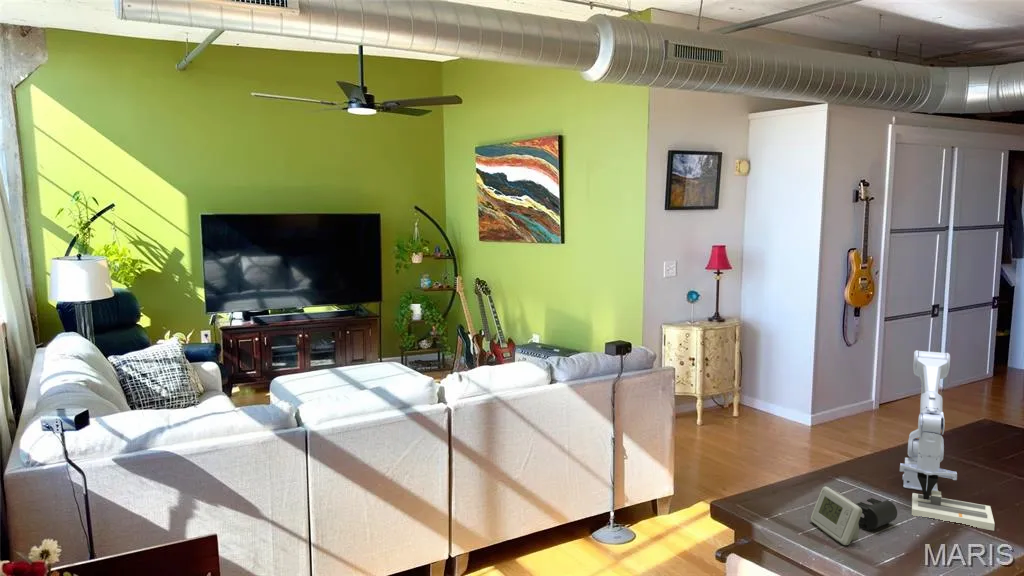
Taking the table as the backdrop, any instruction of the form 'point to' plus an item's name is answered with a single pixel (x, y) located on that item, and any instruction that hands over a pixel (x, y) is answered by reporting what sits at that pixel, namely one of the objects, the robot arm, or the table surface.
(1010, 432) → the table surface
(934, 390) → the robot arm
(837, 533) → the digital clock
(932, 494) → the fader tab
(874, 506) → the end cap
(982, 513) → the console
